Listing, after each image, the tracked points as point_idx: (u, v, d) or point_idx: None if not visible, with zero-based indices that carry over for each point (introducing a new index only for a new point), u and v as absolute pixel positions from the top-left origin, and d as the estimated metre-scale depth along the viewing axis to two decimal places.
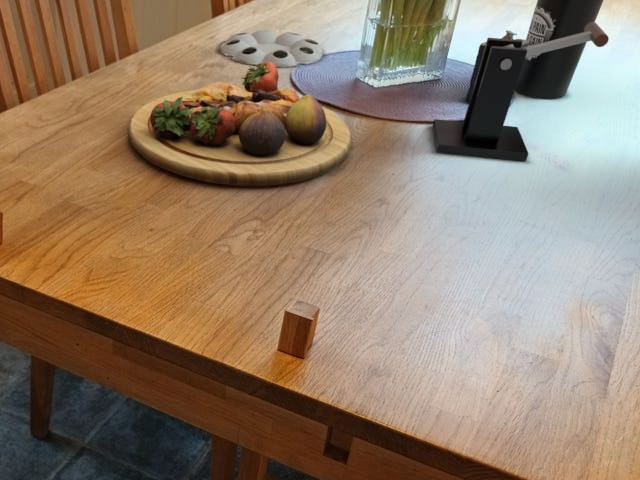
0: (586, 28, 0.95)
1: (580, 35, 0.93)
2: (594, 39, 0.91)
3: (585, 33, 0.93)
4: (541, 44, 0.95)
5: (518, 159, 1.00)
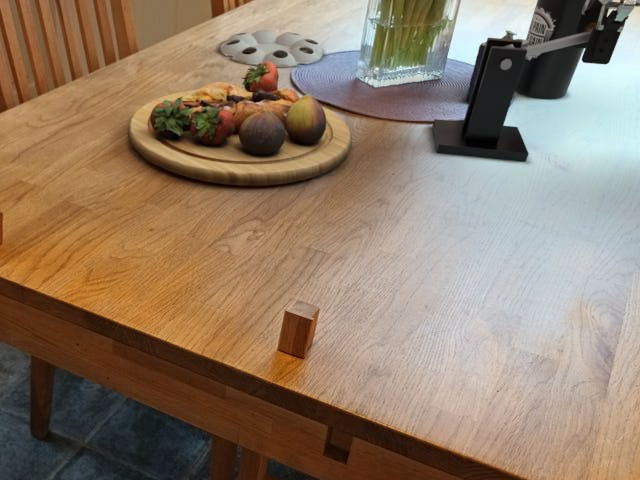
0: (586, 28, 0.95)
1: (580, 35, 0.93)
2: None
3: (585, 33, 0.93)
4: (541, 44, 0.95)
5: (518, 159, 1.00)
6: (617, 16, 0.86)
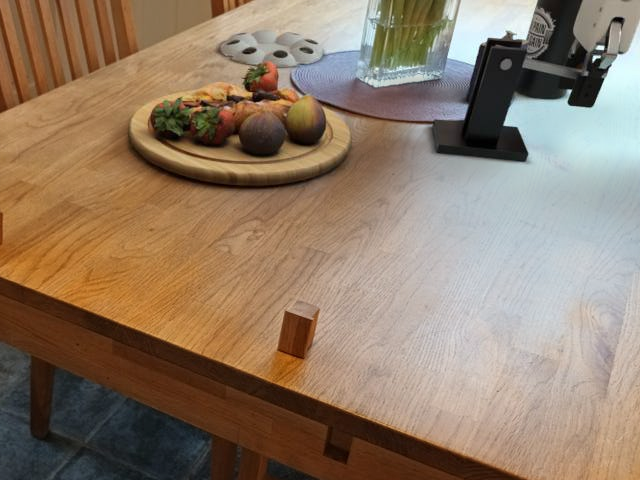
0: (578, 67, 0.98)
1: (573, 69, 0.96)
2: None
3: (577, 70, 0.96)
4: (539, 61, 0.96)
5: (518, 159, 1.00)
6: (601, 64, 0.89)
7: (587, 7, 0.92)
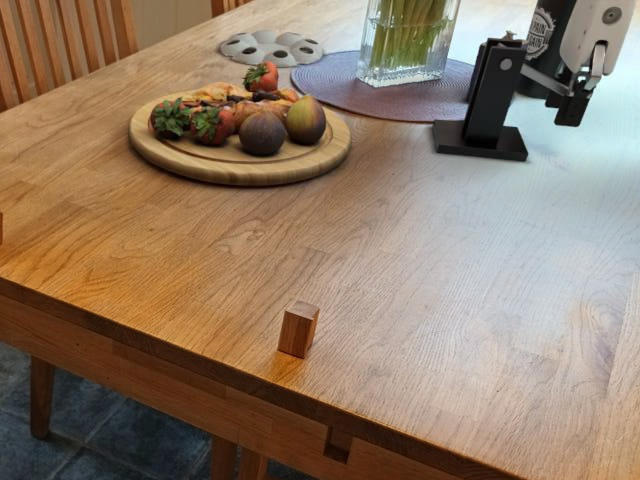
0: (567, 85, 0.99)
1: (563, 86, 0.97)
2: None
3: (567, 88, 0.97)
4: (535, 70, 0.97)
5: (518, 159, 1.00)
6: (585, 86, 0.91)
7: (572, 29, 0.93)
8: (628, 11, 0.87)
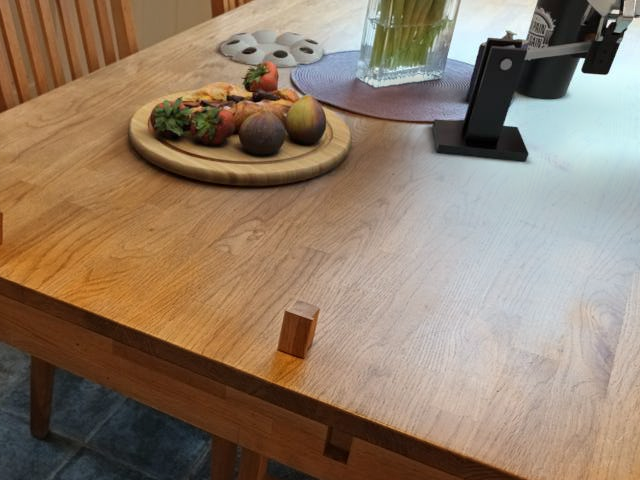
0: (586, 38, 0.95)
1: (580, 44, 0.94)
2: None
3: (585, 43, 0.94)
4: (541, 49, 0.95)
5: (518, 159, 1.00)
6: (616, 28, 0.87)
7: None
8: None
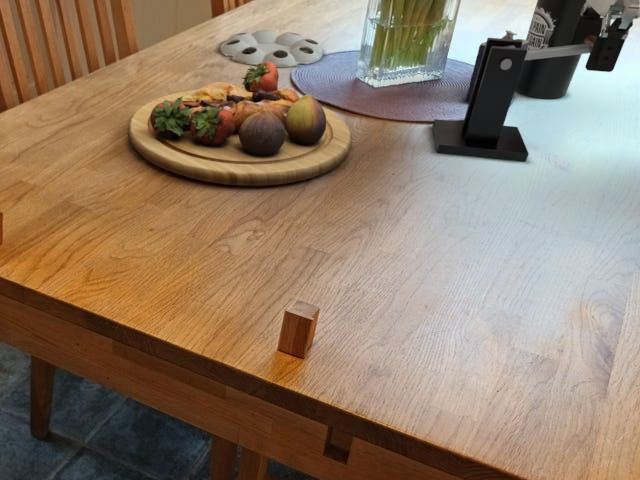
0: (585, 40, 0.95)
1: (580, 46, 0.94)
2: None
3: (585, 45, 0.94)
4: (541, 49, 0.95)
5: (518, 159, 1.00)
6: (622, 21, 0.85)
7: None
8: None
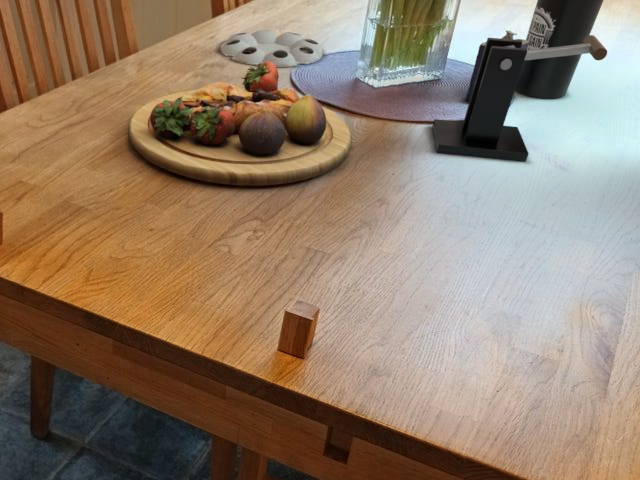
0: (585, 40, 0.95)
1: (580, 46, 0.94)
2: (593, 52, 0.92)
3: (585, 45, 0.94)
4: (541, 49, 0.95)
5: (518, 159, 1.00)
6: None
7: None
8: None
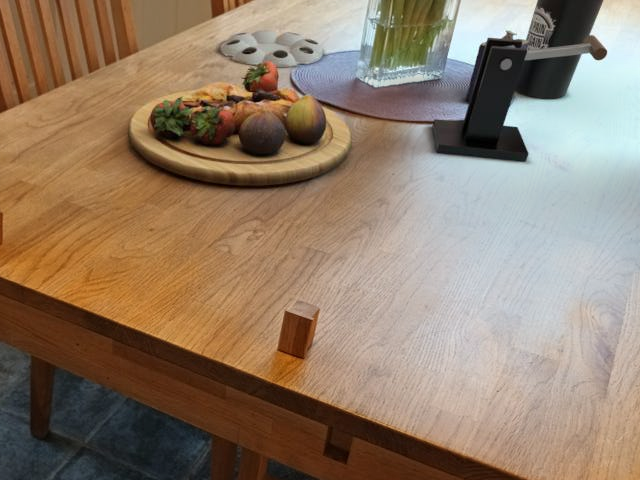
0: (585, 40, 0.95)
1: (580, 46, 0.94)
2: (593, 52, 0.92)
3: (585, 45, 0.94)
4: (541, 49, 0.95)
5: (518, 159, 1.00)
6: None
7: None
8: None
